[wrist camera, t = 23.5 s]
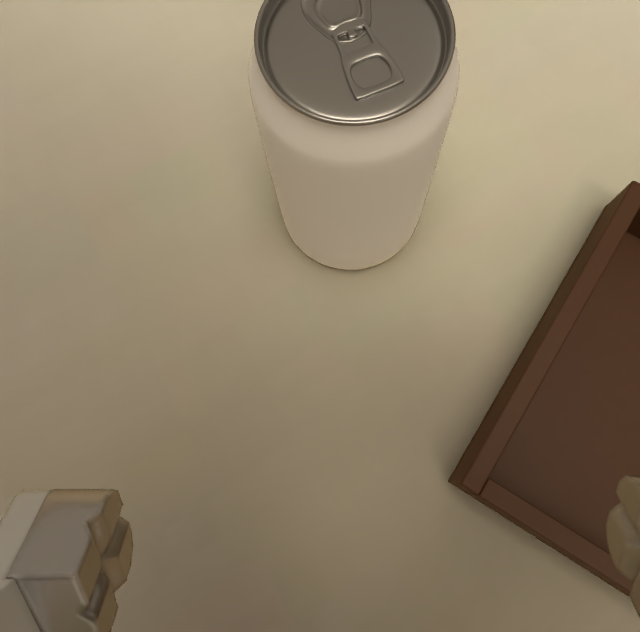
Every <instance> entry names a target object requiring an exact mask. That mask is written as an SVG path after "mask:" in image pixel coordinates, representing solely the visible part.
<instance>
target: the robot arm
mask: <svg viewBox="0 0 640 632" xmlns="http://www.w3.org/2000/svg"><path fill="white" fill-rule="evenodd" d="M616 493H617V495H618V497H619V499H620V501H621V502H620V503H619V504H618V505H617V506H615V507H614V508H613V509H611V510H610V511H609V515H608V519H607V523H606V537H607V544H608V548H609V552H610V555H611V558H612V560H613V562H614V564H615V566H616V569H617V570H618V571H619V572H620V573H621V574H623V575H624V576H625V577H626V578H628V579H629V580H630V581H631V582H633V586H632V589H631V593H630V596H629V597H630V599H631V601H632V603H633V605H634V607H635V609H636V611H637V613H638V615H639V618H640V475H625V476H624V477H623V478H622V479H621V480H620V481H619V484H618V487H617V490H616ZM122 506H123V502H122V500H121V497H120V494H119V491H118V490H114V489H53V490H22V491H21V492H20V493H19V494H18V495H16V496H15V497H14V499H13V500H12V502H11V504H10V506H9V508H8V509H7V511H6V513H5V515H4V517H3V518H2V520H1V522H0V632H111V629H112V626H113V623H114V620H115V616H116V613H117V610H118V604H117V601H116V599H115V596H114V592H115V591H116V590H117V589H119V588H120V587H121V586H122V585H123V584H124V583H125V582H126V580H127V577H128V573H129V570H130V566H131V561H132V551H133V539H132V531H131V528H130V524H129V522H128V521H126V520H125V519H124V518H122V517H121V516H120V512H121V509H122Z"/></svg>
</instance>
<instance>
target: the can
mask: <svg viewBox="0 0 640 632" xmlns="http://www.w3.org/2000/svg"><path fill="white" fill-rule="evenodd" d="M455 40H456V33H455V23H454V18H453V14H452V11H451V9H450V6H449V4H448V2H447V0H264V2H263V4H262V6H261V8H260V11H259V13H258V16H257V20H256V24H255V31H254V46H253V49H252V53H251V57H250V64H249V84H250V92H251V97H252V102H253V107H254V111H255V115H256V119H257V123H258V127H259V131H260V135H261V139H262V142H263V146H264V150H265V154H266V158H267V162H268V165H269V169H270V173H271V177H272V180H273V184H274V188H275V192H276V195H277V199H278V203H279V206H280V210H281V213H282V217H283V220H284V223H285V226H286V228H287V231H288V233H289V235H290V236H291V238H292V240H293V241H294V242H295V244H296V245H297V246H298V247H299V248H300V249H301V250H302V251H303V252H304V253H305V254H306V255H307V256H309V257H310V258H312V259H313V260H315V261H317V262H319V263H321V264H323V265H326V266H329V267H333V268H337V269H345V270H356V269H364V268H369V267H372V266H375V265H378V264H380V263H382V262H384V261H386V260H388V259H390V258H391V257H393V256H394V255H395V254H397V253H398V252H399V251H400V250H401V249H402V248H403V247H404V246H405V245H406V243H407V242H408V241H409V239H410V238H411V236H412V234H413V232H414V230H415V228H416V226H417V223H418V220H419V217H420V214H421V211H422V208H423V205H424V202H425V199H426V196H427V193H428V189H429V186H430V183H431V180H432V177H433V173H434V170H435V167H436V164H437V160H438V157H439V154H440V150H441V147H442V144H443V141H444V137H445V134H446V131H447V127H448V124H449V121H450V117H451V114H452V110H453V107H454V103H455V99H456V95H457V90H458V83H459V58H458V53H457V48H456V45H455Z"/></svg>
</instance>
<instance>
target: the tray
mask: <svg viewBox="0 0 640 632" xmlns="http://www.w3.org/2000/svg"><path fill="white" fill-rule="evenodd" d="M625 475H640V183H638V182H636V181H632V182H631V183H630V184H629V185H628V186H627V187H626V188H625V189H624V190H623V191H622V192H621V193H620V194H618V195H617V196H616V197H615V198H614V199H613V200H612V201H611V202H610V203H609V204H608V205H606V206H605V208H604V210H603V212H602V213H601V215H600V217H599V219H598V220H597V222H596V224H595V226H594V227H593V229H592V231H591V232H590V234H589V236H588V238H587V239H586V241H585V243H584V245H583V246H582V248H581V250H580V252H579V253H578V255H577V257H576V259H575V260H574V262H573V264H572V266H571V267H570V269H569V271H568V273H567V274H566V276H565V278H564V280H563V281H562V283H561V285H560V287H559V288H558V290H557V292H556V294H555V295H554V297H553V299H552V301H551V302H550V304H549V306H548V308H547V309H546V311H545V313H544V315H543V316H542V318H541V320H540V321H539V323H538V325H537V327H536V328H535V330H534V332H533V334H532V335H531V337H530V339H529V341H528V342H527V344H526V346H525V348H524V349H523V351H522V353H521V355H520V356H519V358H518V360H517V362H516V363H515V365H514V367H513V369H512V370H511V372H510V374H509V376H508V377H507V379H506V381H505V383H504V384H503V386H502V388H501V390H500V391H499V393H498V395H497V397H496V398H495V400H494V402H493V404H492V405H491V407H490V409H489V411H488V412H487V414H486V416H485V417H484V419H483V421H482V423H481V424H480V426H479V428H478V430H477V431H476V433H475V435H474V437H473V438H472V440H471V442H470V444H469V445H468V447H467V449H466V451H465V452H464V454H463V456H462V458H461V459H460V461H459V463H458V465H457V466H456V468H455V470H454V472H453V473H452V475H451V477H450V479H449V480H448V481H449V482H450V483H451V484H453V485H455V486H456V487H458V488H459V489H461V490H462V491H464V492H466V493H467V494H469V495H470V496H472V497H473V498H475V499H477V500H478V501H480V502H481V503H483V504H484V505H486V506H488V507H489V508H491V509H492V510H494V511H495V512H497V513H499V514H500V515H502V516H503V517H505V518H506V519H508V520H510V521H511V522H513V523H514V524H516V525H517V526H519V527H521V528H522V529H524V530H525V531H527V532H528V533H530V534H531V535H533V536H535V537H536V538H538V539H539V540H541V541H542V542H544V543H546V544H547V545H549V546H550V547H552V548H553V549H555V550H557V551H558V552H560V553H561V554H563V555H564V556H566V557H568V558H569V559H571V560H572V561H574V562H575V563H577V564H579V565H580V566H582V567H583V568H585V569H586V570H588V571H590V572H591V573H593V574H594V575H596V576H597V577H599V578H601V579H602V580H604V581H605V582H607V583H608V584H610V585H612V586H613V587H615V588H616V589H618V590H619V591H621V592H623V593H624V594H626V595H627V596H630V593H631V589H632V586H633V582H631V581H630V580H629V579H628V578H626V577H625V576H624V575H623V574H621V573H620V572H619V571H618V570H617V569H616V566H615V564H614V562H613V560H612V558H611V555H610V552H609V548H608V544H607V537H606V523H607V519H608V515H609V511H610V510H611V509H613V508H614V507H615V506H617V505H618V504H619V503H620V502H621V501H620V499H619V497H618V495H617V493H616V490H617V487H618V484H619V481H620V480H621V479H622V478H623V477H624V476H625Z"/></svg>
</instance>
